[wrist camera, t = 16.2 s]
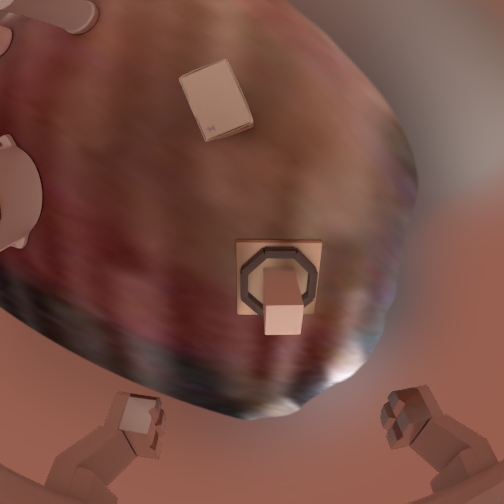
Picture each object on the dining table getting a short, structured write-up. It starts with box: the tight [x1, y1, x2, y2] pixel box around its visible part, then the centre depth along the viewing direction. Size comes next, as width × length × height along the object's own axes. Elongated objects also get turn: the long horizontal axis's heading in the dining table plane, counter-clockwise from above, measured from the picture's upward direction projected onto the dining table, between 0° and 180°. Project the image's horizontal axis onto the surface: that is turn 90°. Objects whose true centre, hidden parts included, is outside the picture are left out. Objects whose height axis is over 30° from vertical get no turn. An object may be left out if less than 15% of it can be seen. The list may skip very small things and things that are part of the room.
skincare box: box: [179, 59, 254, 142], centre depth 27 cm, size 6×4×12 cm
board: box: [236, 240, 322, 318], centre depth 40 cm, size 11×11×2 cm
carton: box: [262, 267, 304, 335], centre depth 36 cm, size 4×4×9 cm
